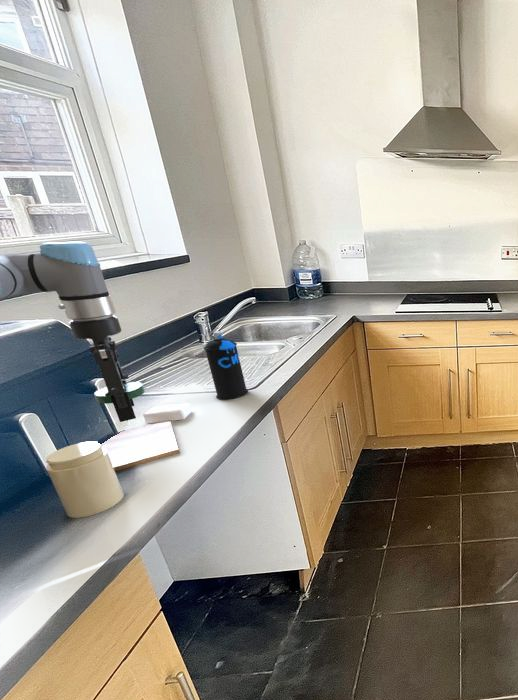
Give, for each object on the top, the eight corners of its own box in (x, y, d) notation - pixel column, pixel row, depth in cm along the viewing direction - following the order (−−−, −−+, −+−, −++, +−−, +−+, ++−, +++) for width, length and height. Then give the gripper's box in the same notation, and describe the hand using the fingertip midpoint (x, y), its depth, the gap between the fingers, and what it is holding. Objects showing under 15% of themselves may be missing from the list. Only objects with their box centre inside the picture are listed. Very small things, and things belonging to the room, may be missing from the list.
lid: (93, 407, 89) (90, 399, 89) (100, 394, 96) (97, 387, 95) (142, 397, 94) (140, 390, 93) (146, 386, 100) (144, 379, 99)
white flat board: (99, 441, 102) (98, 437, 101) (171, 423, 111) (170, 419, 110) (97, 476, 88) (96, 472, 87) (179, 452, 97) (178, 448, 96)
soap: (192, 411, 117) (190, 401, 116) (184, 420, 112) (181, 410, 111) (154, 415, 114) (151, 405, 113) (145, 424, 110) (141, 414, 109)
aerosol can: (209, 398, 125) (192, 334, 119) (233, 388, 133) (217, 327, 126) (232, 401, 124) (215, 336, 117) (254, 390, 131) (240, 329, 124)
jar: (68, 502, 80) (44, 450, 76) (123, 485, 85) (104, 435, 81) (65, 524, 74) (39, 469, 70) (124, 504, 79) (103, 452, 75)
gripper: (71, 312, 93) (105, 403, 101) (63, 329, 79) (105, 435, 86) (115, 307, 98) (145, 395, 106) (116, 323, 83) (151, 423, 91)
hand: (127, 413), depth 96 cm, fingers closed on lid, 8 cm apart
